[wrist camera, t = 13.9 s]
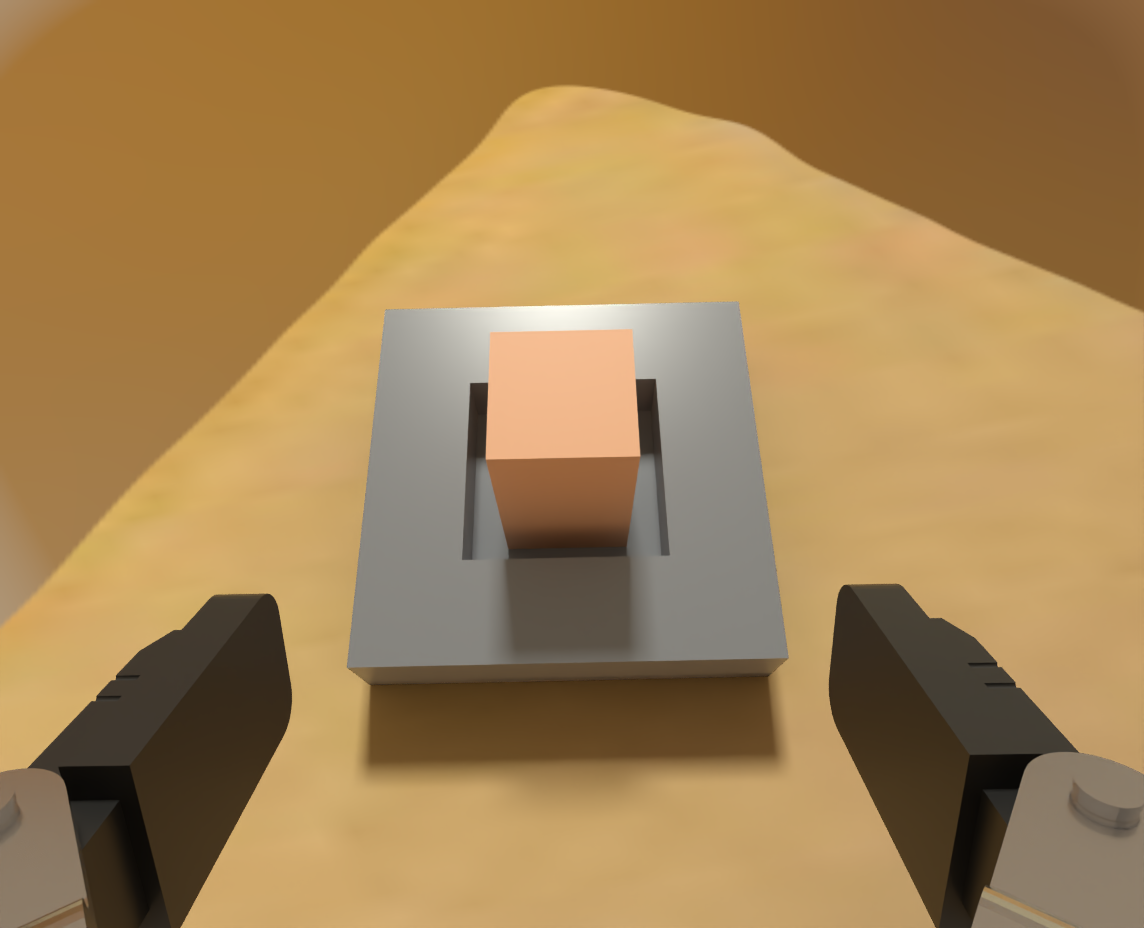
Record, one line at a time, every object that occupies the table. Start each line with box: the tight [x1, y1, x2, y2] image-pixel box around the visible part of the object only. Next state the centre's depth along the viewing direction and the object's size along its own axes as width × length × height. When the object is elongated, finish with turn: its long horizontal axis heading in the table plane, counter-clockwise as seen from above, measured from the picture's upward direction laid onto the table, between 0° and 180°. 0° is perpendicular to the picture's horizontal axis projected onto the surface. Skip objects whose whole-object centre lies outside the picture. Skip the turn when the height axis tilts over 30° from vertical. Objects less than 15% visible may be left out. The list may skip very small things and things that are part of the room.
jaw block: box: [486, 329, 640, 549], centre depth 26 cm, size 4×4×8 cm
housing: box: [347, 302, 788, 685], centre depth 29 cm, size 14×14×3 cm
